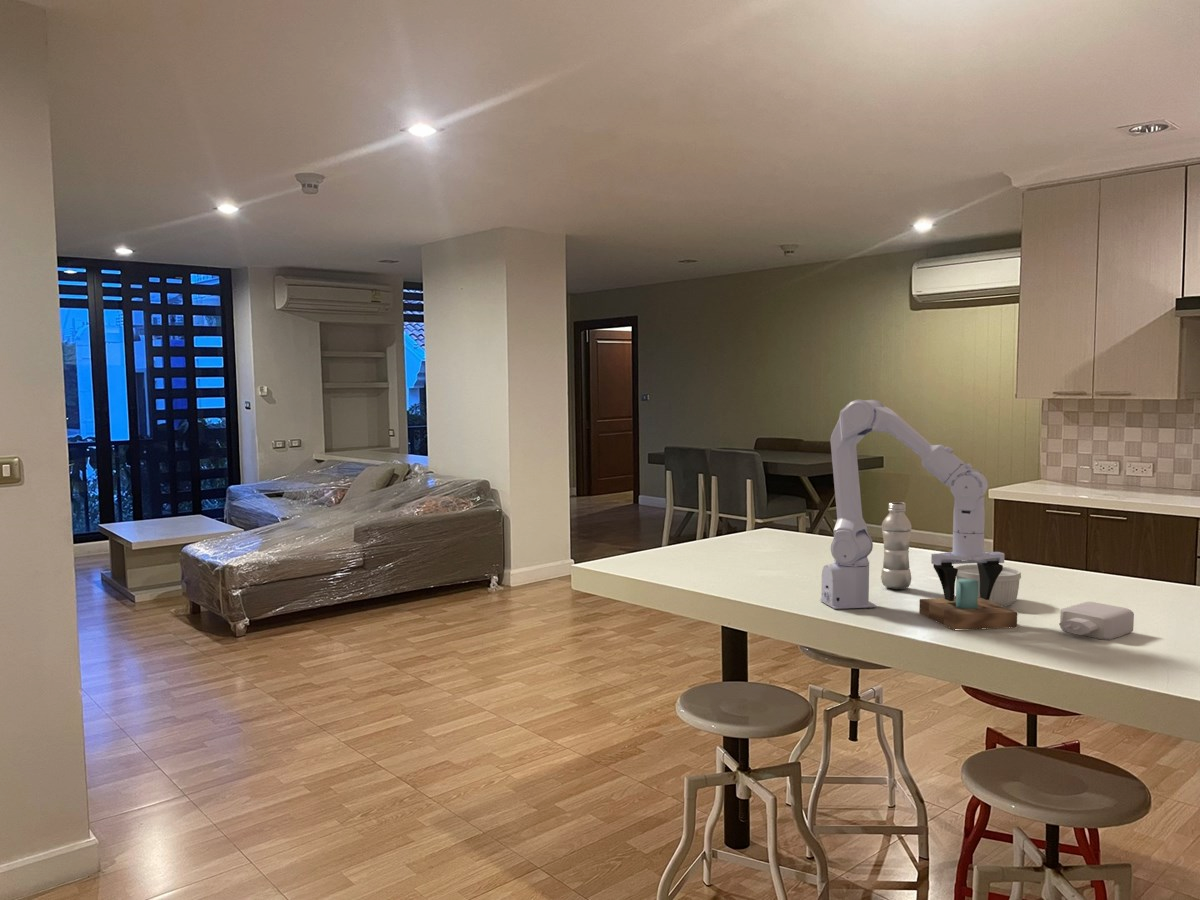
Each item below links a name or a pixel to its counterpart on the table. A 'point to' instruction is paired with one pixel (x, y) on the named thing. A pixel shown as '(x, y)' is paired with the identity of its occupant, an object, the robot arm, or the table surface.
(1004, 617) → the socket
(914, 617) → the table surface
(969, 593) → the peg
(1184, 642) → the table surface
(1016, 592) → the ramekin
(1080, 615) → the charger
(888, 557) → the plastic bottle
